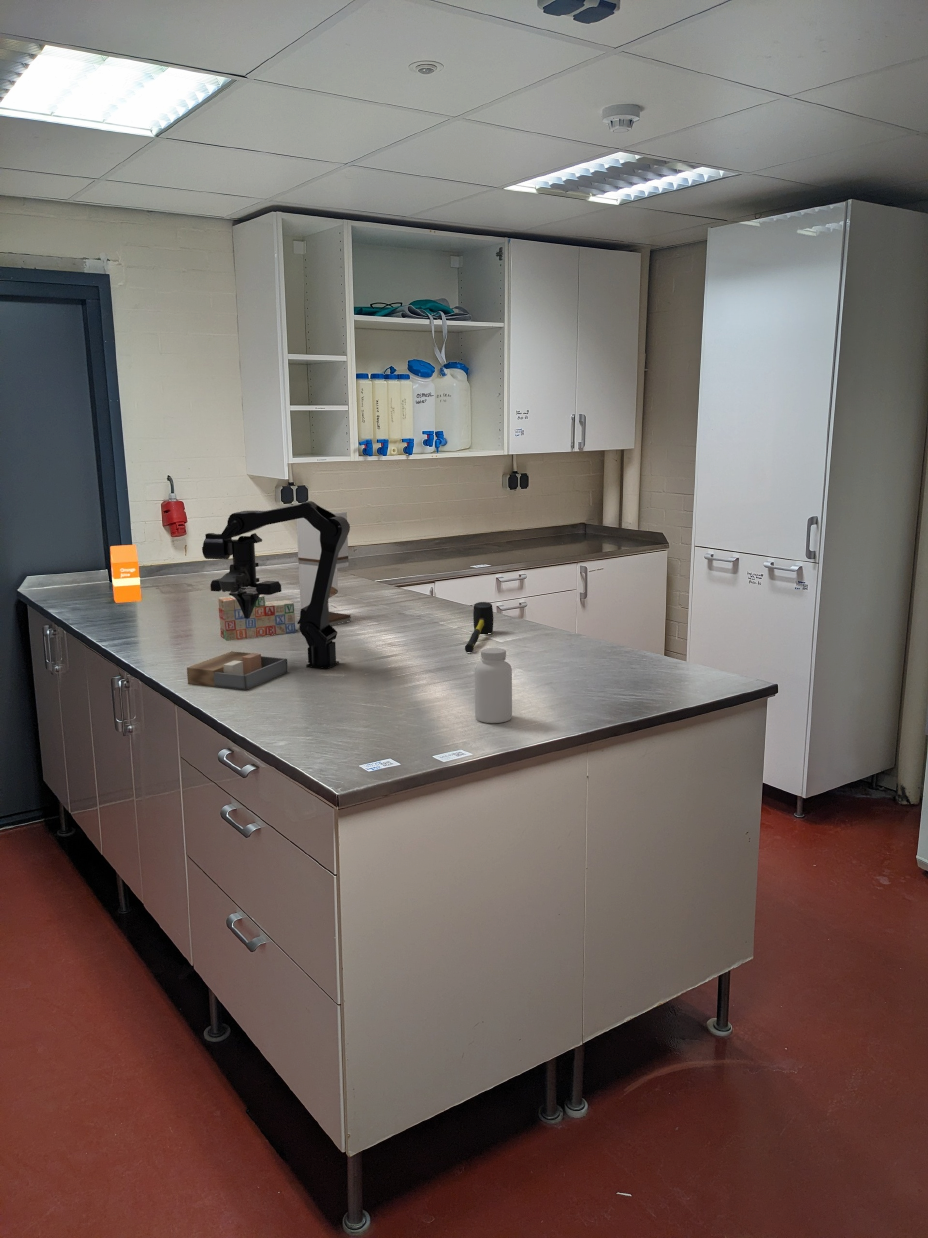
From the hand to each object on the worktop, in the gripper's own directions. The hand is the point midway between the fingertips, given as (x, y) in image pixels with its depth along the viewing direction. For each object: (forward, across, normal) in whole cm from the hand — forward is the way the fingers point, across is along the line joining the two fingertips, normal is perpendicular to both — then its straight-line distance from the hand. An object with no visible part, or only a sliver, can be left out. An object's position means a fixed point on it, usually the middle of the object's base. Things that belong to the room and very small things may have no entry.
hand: (247, 618), depth 249 cm
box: (+12, +10, -14) cm, 21 cm away
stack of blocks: (+12, -18, +30) cm, 37 cm away
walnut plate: (+12, +2, -14) cm, 18 cm away
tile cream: (+9, +7, -18) cm, 22 cm away
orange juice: (+12, -97, +62) cm, 115 cm away
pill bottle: (+12, +78, -22) cm, 82 cm away
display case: (+12, -8, +52) cm, 54 cm away
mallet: (+12, +48, +44) cm, 66 cm away
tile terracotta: (+9, +7, -10) cm, 15 cm away
